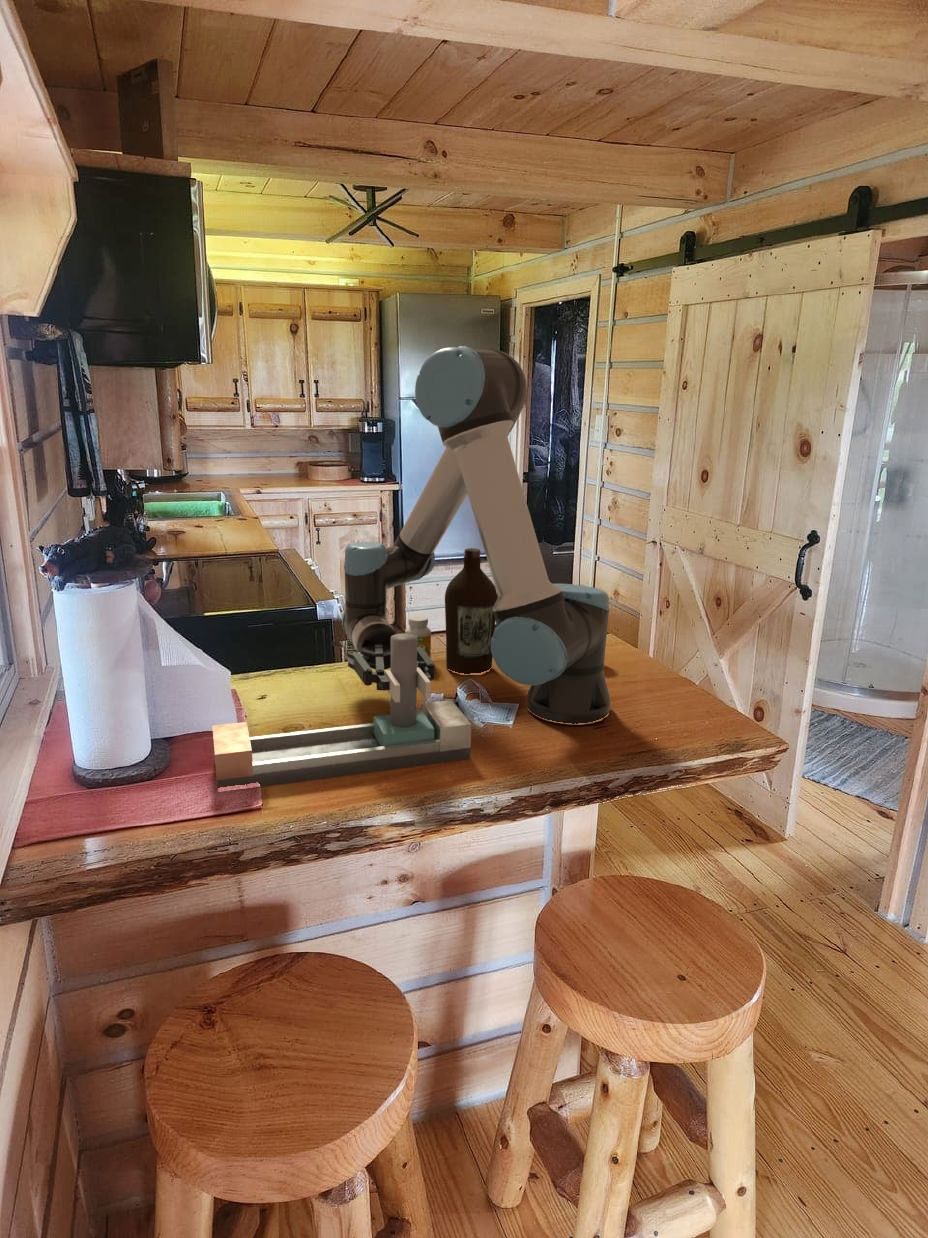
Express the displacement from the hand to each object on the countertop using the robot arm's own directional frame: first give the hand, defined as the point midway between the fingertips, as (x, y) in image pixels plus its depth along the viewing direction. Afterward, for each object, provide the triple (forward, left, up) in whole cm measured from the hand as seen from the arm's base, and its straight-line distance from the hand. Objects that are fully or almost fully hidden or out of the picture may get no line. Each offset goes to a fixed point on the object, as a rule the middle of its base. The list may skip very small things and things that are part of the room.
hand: (412, 692), depth 117 cm
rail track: (+11, -1, -12) cm, 17 cm away
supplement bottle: (+7, -47, -13) cm, 49 cm away
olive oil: (-4, -45, -13) cm, 47 cm away
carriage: (+2, -5, -10) cm, 12 cm away
